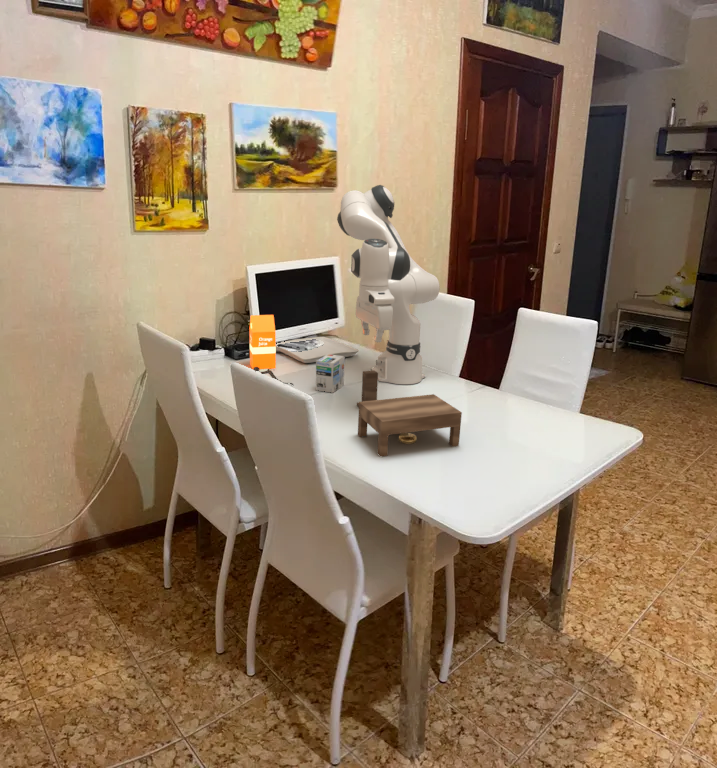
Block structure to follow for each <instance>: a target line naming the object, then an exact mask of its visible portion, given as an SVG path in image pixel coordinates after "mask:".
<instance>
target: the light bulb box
mask: <svg viewBox="0 0 717 768" xmlns="http://www.w3.org/2000/svg"><path fill="white" fill-rule="evenodd" d="M345 358H346V357H344V356H338V355H332V354H327V355H326V356H324V357H322V358H321V359H319V360H317V361H316V362H315V363H316V364H315V366H316V368H315V375H316V376H315V391H318V390H319V391H318V392H324V391H325V393H330V392H331V393H335V392H336V391H338V390H339V389H341V388H342V387H344V386H345V385H344V383H345V362H346V361H345V360H346V359H345Z"/></svg>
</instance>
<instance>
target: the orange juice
mask: <svg viewBox="0 0 717 768" xmlns="http://www.w3.org/2000/svg"><path fill="white" fill-rule="evenodd" d="M248 330H249V365H250V367H251V368H252V370H253V368H254V367H259V368H260V369H259V370H266V369H267V370H268V369H269V370H273V369H276V365H277V364H276V363H277V362H276V361H277V359H276V358H277V357H276V355H277V354H276V353H277V349H276V343H277V341H276V339H277V338H276V337H277V336H276V325H275V317H274V314H257V315H253V314H252V315H250V319H249V329H248Z"/></svg>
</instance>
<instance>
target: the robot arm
mask: <svg viewBox="0 0 717 768" xmlns="http://www.w3.org/2000/svg"><path fill="white" fill-rule="evenodd" d="M340 200H341V201H340V211H339V213H338V214H337V218H336V220H337V223H338V224H337V225H338V227H339V229H340V230H341V231H342V232H343V233H344V234H346V236H349V237H351V238H352V239H355V240H359V241H363V242H362V245H361V247H360V248H357V249H356V250H355V251H354V252H353V253H352V254H351V265H350V266H351V268H350V272H351V273H352V274H353V275H354V276H355V278H358V279H360V280H359V288H358V296H357V297H356V304H355V317H356V318H357V319H358V320H360V321H361V328H362V335H364V336H369V335H370V332H371V331H370V329H369V326H372V327H373V328H375V335H374V342H376V343H381V342H382V341H383V335H384V334H385V333H384V332H385V331H388V340H387V342H386V348H385V350H384V351H383V352H382V353H381V354H380V355H379V356H378V357H377V359H376V360H375V364H376V365H375V366H373V367H370V371H373V370H374V371H376V372H377V373H378V382H381V383H382V382H383V383H390V384H396V385H413V384H418V383H420V382H422V379H424V378H425V377H426V374H425V373H423V356H422V355H421V354H420V352H421V342H420V340H421V339H420V337H421V336H420V335H421V322H420V320H419V318H418V317H416V316H415V315H414V314H412V312H411V309H410V306H411V305H418V304H419V305H420V304H425V303H428V302H429V303H430V302H431V301H434V300H436V299H437V297H438V296H439V293H440V290H441V289H440V288H441V287H440V286H441V285H440V281H439V279H438V277H437V276H436V275H434V274H433V273H430V272H428V271H426V270H425V269H424V268H422V266H420V265H419V264H418V263H417V262H416V261H415V260H414V259H413V258H412V256H411V255H410V253H409V252H408V249H407V248H406V246H405V244H404V242H403V240H402V237H401V236H400V234H399V232H398V231H397V228H396V227H395V226H394V225H393V223H392V222H391V221H390V220H389V218H390V219H392V218H393V212H394V210H395V200H394V197H393V194H392V192H391V191H390V190H389V189H388V188H387V187H386V186H385V185H382V184H378V185H375V186H373V187H371V189H369V190H367V191H365V192H364V193H363V192H362V191H359V190H357V189H356V190H355V189H354V190H350V191H347V192H346V193H345V194H344V195H342V198H341V199H340Z"/></svg>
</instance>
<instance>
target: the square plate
mask: <svg viewBox="0 0 717 768" xmlns="http://www.w3.org/2000/svg"><path fill="white" fill-rule="evenodd" d="M312 339H316V340H321V341H323V342H324V345H323V346H320V347H318V348H314V349H312V350H308V351H302V352H298V351H297V352H291V351H288V350H286V349H284V348H281V347H278V346H277V345H278V344H285V343H290V342H299V341H306V340H312ZM280 342H281V343H278V342H276V343H277V344H276V351H279V352H281V353H283V354H284V355H287V356H289V357H291V358H293V359H295V360H297V361H299V362H300V363H301V362H302V363H304V364H310V363H311V364H312V363H316V361H317V360H319V359H321V358H322V357H324V356H326V355H327V354H332V355H338V356H344V357H345V358H347V357H353V356H354V355H356V354H357V353H359V351H360V350H359V349H357V348H354V347H352V346H350V345H348V344H346V343H343V342H340V341H338V340H335V339H332V338H330V337H327V336H317V337H315V336H314V337H307V338H306V337H305V338H298V339H289V340H285V342H284V341H280Z"/></svg>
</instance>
